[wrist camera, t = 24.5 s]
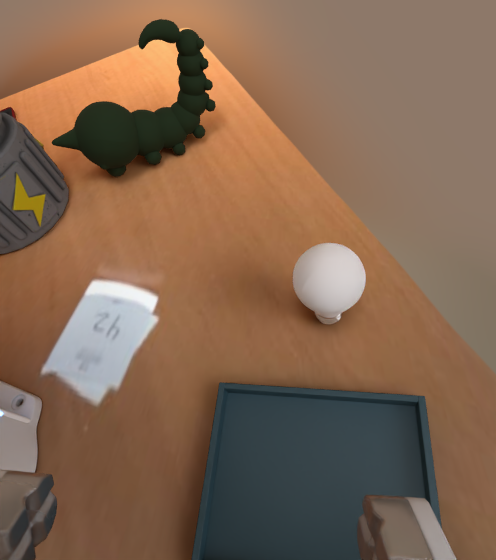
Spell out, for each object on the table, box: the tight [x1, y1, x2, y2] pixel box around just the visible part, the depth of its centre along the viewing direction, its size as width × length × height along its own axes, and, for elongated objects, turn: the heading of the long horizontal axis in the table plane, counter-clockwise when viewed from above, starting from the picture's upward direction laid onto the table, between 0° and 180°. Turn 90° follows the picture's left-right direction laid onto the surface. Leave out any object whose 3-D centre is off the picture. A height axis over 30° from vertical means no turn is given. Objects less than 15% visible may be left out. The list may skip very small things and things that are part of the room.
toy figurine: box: [52, 19, 216, 177], centre depth 54 cm, size 9×19×25 cm
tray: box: [192, 383, 442, 560], centre depth 32 cm, size 19×15×2 cm
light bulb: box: [293, 243, 366, 325], centre depth 36 cm, size 7×7×11 cm
